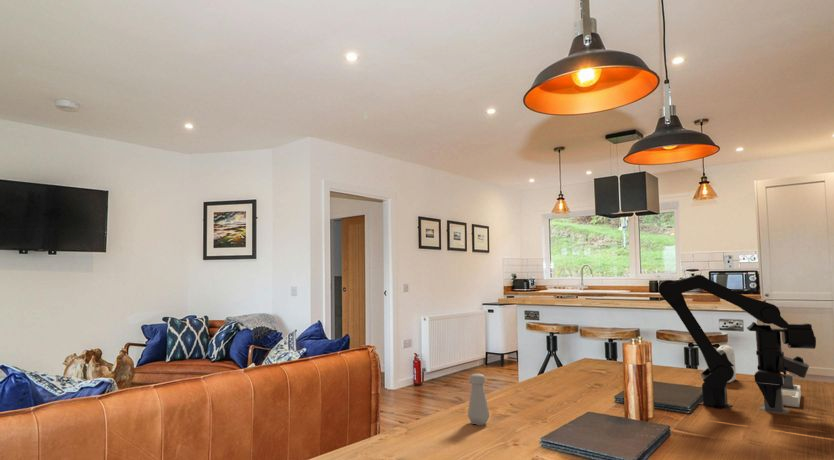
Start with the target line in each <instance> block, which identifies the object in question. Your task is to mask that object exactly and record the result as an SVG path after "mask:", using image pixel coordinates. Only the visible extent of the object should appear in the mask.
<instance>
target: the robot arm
mask: <svg viewBox="0 0 834 460" xmlns="http://www.w3.org/2000/svg"><path fill="white" fill-rule="evenodd" d="M657 287H658V288H657V290H658V292H659V295H660V296H661V297H662V298H663V299H664V300H665V301H666V302H667V304H668V305H669V306H670V307H671V308H672V309H673V310H674V311H675V313H676V314H677V315H678V317H679V319H680V320H681V322H682V323H683V325H684V326H685V328H686V330H687V331H688V333H689V334H690V336H691V337H692V339H693V341H694V342H695V344H696V346H697V347H698V349H699V351H700V352H701V354H702V357H703V359H704V362H705V364H706V366H707V368H706V369H705V370H703V372H701V373H700V377H701V378H702V381H703V383H702V384H701V390H702V402H698V403H697V405H700V406H703V407H704V406H705V407H707V408H712V409H716V410H722V409H726V408H731V407H733V404H729V403H728V393H727V392H728V391H727V384H728V383H727V381H729V380H731V379H732V377H733V375H734V371H733V368H732V367H731V366H734V365H733V364H732V363H731V362H730V361H729V360H728V358H727V355H726V353H725V352H724V351H723V350H721V351H719V352H718V351H717V348H715V347H714V345H713V344H712V343H711V340H710V339H709V338H708V336H707V335H706V333H705V331H704V330H703V329H702V326H701V325H700V324H699V322H698V321H697V319H696V318H695V316H694V314H693V313H692V311H691V310H690V308H689V307H688V305H687V302H686V300H685V297H684V295H683V294H684V293H686V292H690V291H693V290H697V289H700V290H702V291H704V292H706V293H708V294H711V295H713V296H715V297H717V298H720V299H722V300H723V301H726V302H727V303H730V304H732V305H734V306H736V307H738V308H740V309H741V310H743V311H744V312H745V313H747V314H748V315H750V316H751V317H753V318H754V319H756V320H758V321H759V322H761V323H764V324H757V323H756V322H755V321H752V323H751V324H750V325H749V326H747V327H746V330H748V331H750V332H755V339H756V340H755V341H756V342H755V343H756V352H755V354H756V356H757V366H756V367H757V371H756V372H754V382H755V384H756V385H757V387H758V389H759V391H760V392H761V394H762V396H763V398H764V397H765V399H766V401H767V403H768V405H769V407H770V408H775V403H776V395H777V390H778V389H779V388H780V387H782V386H783V384H784V378H785V377H786V375H784V374H787V373H790V374H793V375H795V376H798V377H799V378H802V379H805V378H806V375H807V372H808V371H809V368H810V366H809V364H808V363H805V361H804V358H803V357H800V356H798V355H796V356H795V357H793V358H792V357H787V356H785V353H784V351H783V349H782V344H783V345H787V347H788V349H807V350H810V349H811V350H815V349H816V348H817V347H816V346H817V337H816V336H815V333H814V329H812V328H813V325H812V323H811V324H810V323H789V322H788V321H787V320H785V319H784V318H783V317H782V316H781V311H780V309H779V307H778V306H777V305H775V304H773V303H770V302H766V301H763V300H759V299H755V298H752V297H749V296H746V295H743V294H742V293H739V292H737V291H735V290H733V289H731V288H728V287H726V286H724V285H722V284H720V283H718V282H715V281H713V280H711V279H709V278H707V277H706V276H704V275H702V274H695V275H693V276H690V277H685V278H682V279H678V280H672V279H664V280H662V281H661V282H659V284H658V286H657ZM771 325H774V326H776V327H778V328H773V327H771ZM780 372H782V373H784V374H781V373H780Z"/></svg>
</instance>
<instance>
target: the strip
mask: <svg viewBox="0 0 834 460" xmlns="http://www.w3.org/2000/svg"><path fill="white" fill-rule="evenodd" d="M780 373H781V374H784V373H782V372H780ZM784 375H786V377H785V378H784V384H783V386H782V396H783V406H786V407H793V408H800V404H801V403H800V402H801V397H802V392H801V390H802V389H801V384H800V385H799V384H794V374H793V373H791V372H787V374H784Z"/></svg>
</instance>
